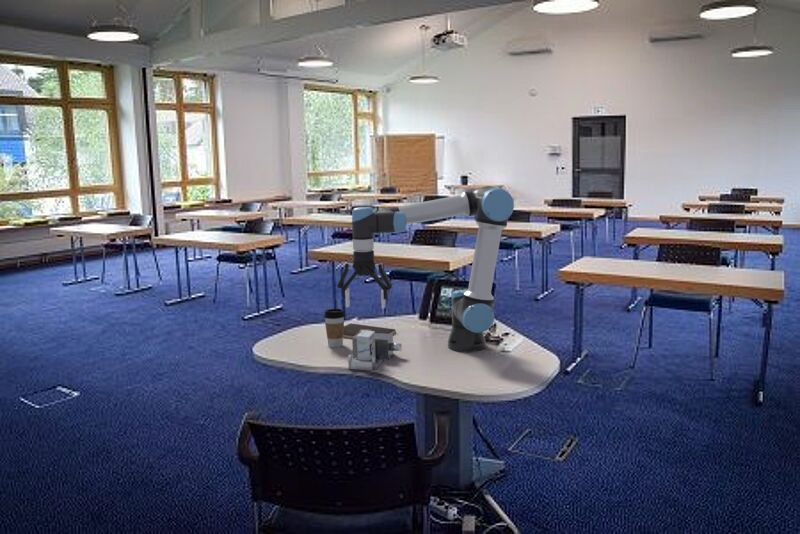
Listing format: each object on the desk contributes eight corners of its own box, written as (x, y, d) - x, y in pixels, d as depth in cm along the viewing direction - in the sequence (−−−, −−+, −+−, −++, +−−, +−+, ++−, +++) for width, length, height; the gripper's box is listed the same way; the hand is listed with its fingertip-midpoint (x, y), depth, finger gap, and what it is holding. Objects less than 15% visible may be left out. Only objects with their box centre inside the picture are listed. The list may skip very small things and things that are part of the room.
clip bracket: (383, 359, 253) (382, 347, 253) (375, 370, 242) (374, 357, 241) (358, 358, 256) (357, 345, 255) (348, 368, 244) (348, 355, 243)
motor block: (403, 354, 260) (402, 329, 258) (398, 360, 252) (398, 335, 250) (358, 352, 264) (358, 327, 262) (353, 358, 256) (352, 333, 254)
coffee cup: (321, 347, 271) (319, 311, 268) (331, 341, 279) (329, 306, 276) (340, 349, 268) (338, 313, 265) (349, 343, 275) (348, 308, 273)
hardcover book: (376, 343, 276) (376, 338, 276) (331, 337, 288) (330, 331, 287) (395, 333, 290) (395, 328, 290) (351, 327, 301) (351, 323, 301)
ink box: (370, 367, 245) (369, 336, 243) (357, 367, 246) (356, 336, 244) (376, 360, 253) (375, 330, 251) (363, 359, 254) (362, 330, 252)
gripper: (399, 248, 243) (400, 305, 247) (333, 248, 248) (336, 303, 252) (394, 252, 236) (396, 310, 239) (327, 251, 241) (330, 308, 245)
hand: (365, 307), depth 246 cm, fingers open, 13 cm apart
